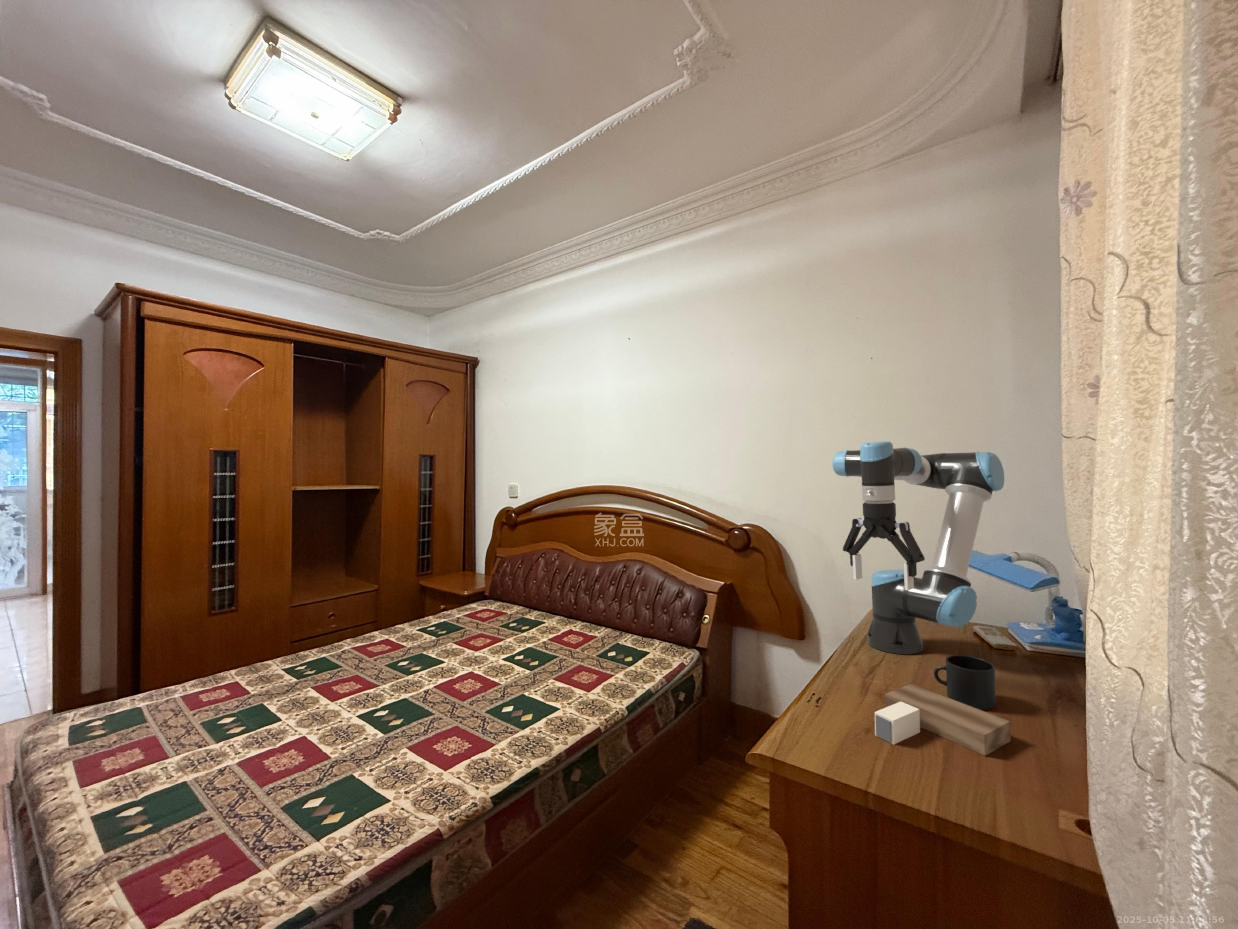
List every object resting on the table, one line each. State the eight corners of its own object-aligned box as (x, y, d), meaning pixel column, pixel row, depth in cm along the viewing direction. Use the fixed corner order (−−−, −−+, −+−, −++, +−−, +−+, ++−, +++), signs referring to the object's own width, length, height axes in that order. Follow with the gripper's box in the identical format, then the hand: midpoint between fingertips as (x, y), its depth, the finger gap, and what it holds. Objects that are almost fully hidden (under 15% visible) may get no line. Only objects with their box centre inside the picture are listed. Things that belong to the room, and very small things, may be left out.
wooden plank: (911, 700, 116) (911, 683, 116) (1010, 741, 98) (1010, 721, 99) (885, 711, 111) (885, 694, 111) (984, 756, 94) (984, 735, 94)
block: (900, 701, 106) (873, 712, 102) (919, 709, 103) (892, 721, 98) (901, 724, 106) (874, 736, 102) (920, 733, 103) (892, 745, 98)
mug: (936, 685, 123) (935, 649, 124) (996, 698, 116) (995, 660, 116) (932, 700, 116) (930, 662, 116) (995, 715, 109) (994, 674, 109)
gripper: (826, 500, 134) (830, 577, 134) (921, 505, 112) (925, 597, 113) (843, 498, 138) (847, 572, 138) (938, 502, 116) (942, 591, 117)
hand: (882, 583), depth 125 cm, fingers open, 13 cm apart
